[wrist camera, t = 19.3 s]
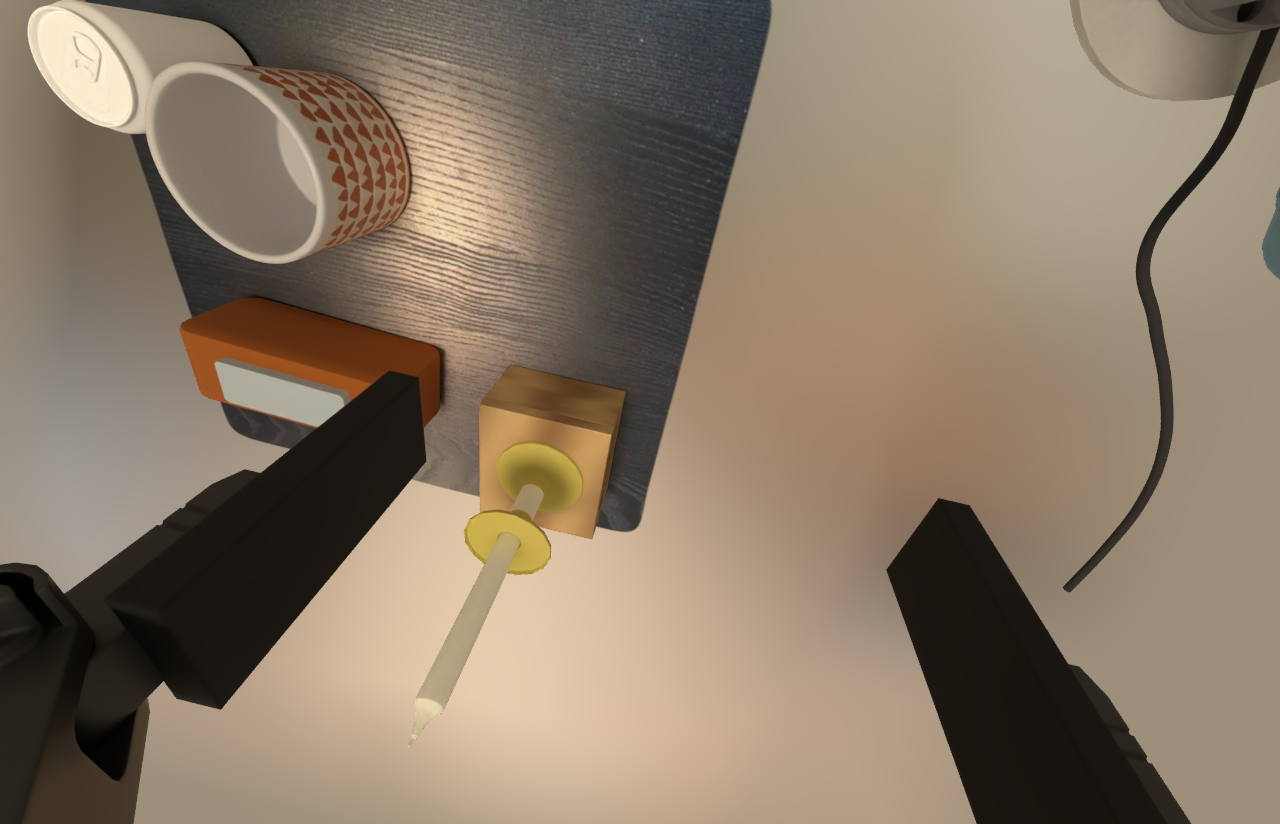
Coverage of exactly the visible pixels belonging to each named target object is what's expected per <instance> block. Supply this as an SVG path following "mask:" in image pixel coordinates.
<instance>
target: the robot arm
mask: <svg viewBox="0 0 1280 824" xmlns="http://www.w3.org/2000/svg"><path fill="white" fill-rule="evenodd" d="M1158 1H1159V3H1160V4H1161V6H1162V7H1163V9H1164V10H1165V11H1166V12H1167V13H1168V15H1169V16H1170V17H1172V18H1173V19H1174V20H1175V21H1176V22H1178V23H1180V24H1181V25H1183V26H1185V27H1187V28H1189V29H1192V30H1194V31H1198V32H1202V33H1208V34H1236V33H1244V32H1251V31H1258V30H1261V31H1260V34H1259V36H1258V39H1257V41H1256V44H1255V46H1254V49H1253V51H1252V54H1251V56H1250V58H1249V61H1248V63H1247V66H1246V68H1245V71H1244V73H1243V76H1242V78H1241V81H1240V83H1239V85H1238V88H1237V90H1236V93H1235V96H1234V98H1233V101H1232V104H1231V107H1230V109H1229V112H1228V115H1227V117H1226V120H1225V122H1224V124H1223V127H1222V129H1221V131H1220V133H1219V135H1218V137H1217V138H1216V140H1215V142H1214V143H1213V145H1212V147H1211V148H1210V150H1209V151H1208V153H1207V154H1206V156H1205V157H1204V159H1203V160H1202V161H1201V163H1200V164H1199V165H1198V166H1197V168H1196V169H1195V170H1194V171H1193V173H1192V174H1191V175H1190V176H1189V177H1188V179H1187V180H1186V181H1185V182H1184V183H1183V184H1182V186H1181V187H1180V188H1179V189H1178V190H1177V191H1176V192H1175V194H1174V195H1173V196H1172V197H1171V198H1170V199H1169V201H1168V202H1167V203H1166V204H1165V206H1164V207H1163V208H1162V209H1161V210H1160V212H1159V213H1158V215H1157V216H1156V217H1155V219H1154V220H1153V222H1152V223H1151V225H1150V227H1149V229H1148V230H1147V232H1146V234H1145V236H1144V239H1143V241H1142V243H1141V246H1140V249H1139V253H1138V257H1137V263H1136V280H1137V285H1138V290H1139V293H1140V297H1141V299H1142V303H1143V306H1144V308H1145V312H1146V316H1147V320H1148V326H1149V333H1150V338H1151V343H1152V348H1153V353H1154V357H1155V363H1156V367H1157V373H1158V381H1159V391H1160V406H1161V431H1160V439H1159V444H1158V449H1157V453H1156V458H1155V461H1154V465H1153V467H1152V470H1151V473H1150V476H1149V478H1148V480H1147V482H1146V484H1145V486H1144V488H1143V490H1142V492H1141V493H1140V495H1139V497H1138V499H1137V501H1136V502H1135V504H1134V505H1133V507H1132V509H1131V510H1130V512H1129V513H1128V514H1127V516H1126V517H1125V519H1124V520H1123V521H1122V522H1121V524H1120V525H1119V526H1118V527H1117V528H1116V530H1115V531H1114V532H1113V533H1112V534H1111V536H1110V537H1109V538H1108V539H1107V540H1106V541H1105V543H1104V544H1103V545H1102V546H1101V547H1100V549H1099V550H1098V551H1097V552H1096V553H1095V554H1094V555H1093V556H1092V557H1091V558H1090V560H1089V561H1088V562H1087V563H1086V564H1085V565H1084V566H1083V567H1082V568H1081V569H1080V570H1079V571H1078V572H1077V573H1076V574H1075V575H1074V576H1073V577H1072V578H1071V579H1070V580H1069V582H1067V583H1066V584H1065V586H1064V587H1063V588H1064V590H1065V591H1067V592H1071V591H1072V590H1073V589H1074V588H1075V587H1076V586H1077V585H1078V584H1079V583H1080V582H1081V581H1082V580H1083V579H1084V578H1085V577H1086V576H1087V575H1088V574H1089V573H1090V572H1091V571H1092V570H1093V568H1095V567H1096V566H1097V565H1098V564H1099V562H1100V561H1101V560H1102V559H1103V558H1104V557H1105V556H1106V555H1107V554H1108V552H1109V551H1110V550H1111V549H1112V548H1113V547H1114V546H1115V545H1116V543H1117V542H1118V541H1119V540H1120V539H1121V537H1122V536H1123V535H1124V534H1125V533H1126V532H1127V531H1128V530H1129V528H1130V527H1131V526H1132V525H1133V523H1134V522H1135V521H1136V519H1137V518H1138V517H1139V515H1140V514H1141V512H1142V511H1143V509H1144V507H1145V506H1146V504H1147V503H1148V501H1149V499H1150V497H1151V496H1152V494H1153V492H1154V490H1155V488H1156V486H1157V484H1158V482H1159V480H1160V478H1161V475H1162V473H1163V469H1164V467H1165V464H1166V461H1167V457H1168V453H1169V449H1170V444H1171V439H1172V433H1173V393H1172V379H1171V371H1170V365H1169V359H1168V355H1167V350H1166V344H1165V339H1164V333H1163V327H1162V320H1161V314H1160V310H1159V306H1158V303H1157V300H1156V297H1155V294H1154V290H1153V287H1152V283H1151V277H1150V262H1151V256H1152V252H1153V249H1154V246H1155V243H1156V241H1157V238H1158V236H1159V234H1160V232H1161V230H1162V229H1163V227H1164V226H1165V224H1166V223H1167V221H1168V220H1169V218H1170V217H1171V216H1172V214H1173V213H1174V212H1175V211H1176V209H1177V208H1178V207H1179V206H1180V205H1181V203H1182V202H1183V201H1184V200H1185V199H1186V198H1187V196H1188V195H1189V194H1190V193H1191V192H1192V191H1193V190H1194V189H1195V188H1196V186H1197V185H1198V184H1199V183H1200V182H1201V181H1202V180H1203V178H1204V177H1205V176H1206V175H1207V173H1208V172H1209V171H1210V170H1211V169H1212V167H1213V166H1214V165H1215V164H1216V162H1217V161H1218V160H1219V158H1220V157H1221V155H1222V154H1223V153H1224V151H1225V149H1226V148H1227V146H1228V144H1229V143H1230V142H1231V140H1232V138H1233V136H1234V135H1235V133H1236V131H1237V129H1238V127H1239V125H1240V123H1241V121H1242V118H1243V116H1244V114H1245V111H1246V108H1247V106H1248V103H1249V101H1250V98H1251V96H1252V93H1253V91H1254V88H1255V86H1256V83H1257V81H1258V79H1259V76H1260V74H1261V72H1262V69H1263V67H1264V65H1265V62H1266V60H1267V57H1268V55H1269V53H1270V50H1271V48H1272V46H1273V43H1274V41H1275V39H1276V36H1277V34H1278V31H1279V29H1280V0H1158ZM1276 198H1277V200H1276V204H1275V205H1276V210H1275V213H1274V215H1273V218H1272V220H1271V223H1270V225H1269V228H1268V230H1267V233H1266V235H1265V237H1264V240H1263V244H1262V249H1263V256H1264V260H1265V262H1266V265H1267V267H1268V269H1269V270H1270V271H1271V272H1272V273H1273V274H1274V275H1275V276H1276V277H1277V278H1279V279H1280V188H1279V190H1278V192H1277V196H1276ZM425 462H426V452H425V441H424V429H423V418H422V407H421V395H420V384H419V377H416V376H412V375H407V374H403V373H399V372H395V371H390V370H389V371H388V372H386V373H385V374H384V375H383V376H381V377H380V378H379V379H378V380H376V381H375V382H374V383H373V384H371V385H370V386H369V387H368V388H366V389H365V390H364V391H363V392H361V393H360V394H359V395H358V396H356V397H355V398H354V399H353V400H351V401H350V402H349V403H348V404H346V405H345V406H344V407H343V408H341V409H340V410H339V411H338V412H336V413H335V414H334V415H333V416H331V417H330V418H329V419H328V420H326V421H325V422H324V423H323V424H321V425H320V426H319V427H318V428H316V429H315V430H314V431H313V432H311V433H310V434H309V435H308V436H306V437H305V438H304V439H303V440H301V441H300V442H299V443H298V444H296V445H295V446H294V447H293V448H291V449H290V450H289V451H288V452H286V453H285V454H284V455H283V456H282V457H280V458H279V459H278V460H276V461H275V462H274V463H273V464H272V465H270V466H269V467H268V468H266V469H265V470H264V471H263V472H262V473H258V472H254V471H249V470H242V471H240V472H238V473H236V474H234V475H231V476H229V477H227V478H225V479H222V480H220V481H218V482H216V483H213V484H212V485H210V486H209V487H208V488H206V489H205V490H204V491H202V492H201V493H200V494H198V495H197V496H196V497H194V498H193V499H192V500H190V501H189V502H187V503H186V506H185V507H184V508H183V509H182V508H179V509H178V510H177V511H175V512H174V513H173V514H172V515H170V516H169V517H167V518H166V519H165V520H163V524H162V525H160V526H159V525H157V526H155V527H154V528H153V529H151V530H150V531H149V532H147V533H146V534H145V535H143V536H142V537H141V538H139V539H138V540H137V541H135V542H134V543H132V544H131V545H130V546H129V547H127V548H126V549H124V550H123V551H122V552H120V553H119V554H118V555H116V556H115V557H114V558H112V559H111V560H110V561H108V562H107V563H106V564H104V565H103V566H102V567H100V568H99V569H98V570H96V571H95V572H94V573H92V574H91V575H89V576H88V577H87V578H85V579H84V580H83V581H81V582H80V583H79V584H77V585H76V586H75V587H73V588H72V589H71V590H69V591H68V592H66V593H65V594H64V593H63V592H62V591H61V590H60V588H59V587H58V586H57V585H56V583H55V582H54V581H53V580H52V578H51V577H50V576H49V575H48V574H47V573H46V572H45V571H44V570H42V569H41V568H39V567H38V566H37V565H30V564H22V563H10V564H2V565H0V824H133V823H134V816H135V809H136V802H137V795H138V788H139V781H140V774H141V768H142V761H143V755H144V748H145V741H146V734H147V727H148V720H149V713H150V710H149V703H148V699H147V697H148V696H149V695H150V694H151V693H152V692H153V691H154V690H155V689H156V688H157V687H158V686H159V685H160V684H161V683H162V682H163V681H164V682H165V683H166V685H167V686H168V688H169V689H170V690H171V691H172V693H173V694H174V696H175V697H176V698H177V699H180V700H184V701H188V702H192V703H196V704H200V705H204V706H208V707H212V708H217V709H222V708H223V706H224V705H225V704H226V703H227V702H228V700H229V699H230V698H231V697H232V696H233V694H234V693H235V692H236V690H237V689H238V688H239V687H240V686H241V685H242V683H243V682H244V681H245V680H246V679H247V677H248V676H249V675H250V674H251V673H252V671H253V670H254V669H255V668H256V666H257V665H258V664H259V663H260V662H261V661H262V659H263V658H264V657H265V656H266V654H267V653H268V652H269V651H270V650H271V648H272V647H273V646H274V645H275V644H276V642H277V641H278V640H279V639H280V637H281V636H282V635H283V634H284V633H285V631H286V630H287V629H288V628H289V627H290V625H291V624H292V623H293V622H294V621H295V619H296V618H297V617H298V616H299V614H300V613H301V612H302V611H303V610H304V608H305V607H306V606H307V605H308V604H309V602H310V601H311V600H312V599H313V598H314V596H315V595H316V594H317V593H318V592H319V590H320V589H321V588H322V587H323V586H324V584H325V583H326V582H327V581H328V579H329V578H330V577H331V576H332V575H333V573H334V572H335V571H336V570H337V569H338V567H339V566H340V565H341V564H342V562H343V561H344V560H345V559H346V558H347V556H348V555H349V554H350V553H351V552H352V550H353V549H354V548H355V547H356V545H357V544H358V543H359V542H360V540H362V538H363V537H364V536H365V535H366V534H367V532H368V531H369V530H370V529H371V527H372V526H373V525H374V524H375V523H376V521H377V520H378V519H379V518H380V516H381V515H382V514H383V513H384V512H385V511H386V509H387V508H388V507H389V506H390V504H391V503H392V502H393V501H394V500H395V498H396V497H397V496H398V495H399V494H400V492H401V491H402V490H403V489H404V487H405V486H406V485H407V484H408V483H409V481H410V480H411V479H412V478H413V477H414V475H415V474H416V473H417V472H418V471H419V469H420V468H421V467H422V466H423V465H424V463H425ZM887 573H888V576H889V579H890V582H891V584H892V587H893V590H894V593H895V596H896V598H897V601H898V604H899V607H900V609H901V612H902V615H903V618H904V621H905V624H906V626H907V629H908V632H909V635H910V638H911V640H912V643H913V646H914V649H915V651H916V655H917V657H918V660H919V663H920V666H921V669H922V671H923V674H924V677H925V680H926V682H927V685H928V688H929V691H930V694H931V697H932V699H933V702H934V705H935V708H936V711H937V713H938V716H939V719H940V722H941V725H942V727H943V730H944V733H945V736H946V739H947V741H948V744H949V747H950V750H951V753H952V756H953V758H954V761H955V764H956V766H957V770H958V772H959V775H960V778H961V781H962V784H963V786H964V789H965V792H966V795H967V798H968V800H969V803H970V806H971V809H972V812H973V814H974V817H975V820H976V823H977V824H1191V823H1190V821H1189V820H1188V818H1187V817H1186V815H1185V814H1184V812H1183V810H1182V809H1181V807H1180V806H1179V804H1178V803H1177V801H1176V800H1175V798H1174V797H1173V795H1172V794H1171V792H1170V791H1169V789H1168V788H1167V786H1166V785H1165V783H1164V781H1163V780H1162V778H1161V777H1160V775H1159V774H1158V772H1157V771H1156V769H1155V768H1154V766H1153V765H1152V764H1150V763H1148V762H1147V760H1146V758H1147V755H1146V754H1145V752H1144V751H1143V750H1142V748H1141V747H1140V745H1139V743H1138V742H1137V741H1136V739H1135V737H1134V736H1131V735H1130V734H1129V728H1128V727H1127V725H1126V723H1125V722H1124V720H1123V719H1122V717H1121V716H1120V714H1119V713H1118V711H1117V710H1116V708H1115V707H1114V705H1113V704H1112V702H1111V700H1110V699H1109V698H1108V696H1107V695H1106V694H1105V693H1104V692H1103V691H1102V690H1101V689H1100V688H1099V687H1098V686H1097V685H1096V684H1095V683H1094V682H1093V680H1092V679H1091V678H1090V677H1089V676H1088V675H1087V674H1086V673H1085V672H1084V671H1083V670H1082V669H1081V668H1080V667H1078V666H1074V665H1070V664H1068V663H1067V662H1066V660H1065V659H1064V657H1063V655H1062V653H1061V652H1060V650H1059V649H1058V647H1057V645H1056V644H1055V642H1054V640H1053V639H1052V638H1051V636H1050V634H1049V632H1048V631H1047V629H1046V628H1045V626H1044V624H1043V623H1042V621H1041V620H1040V618H1039V616H1038V615H1037V613H1036V612H1035V610H1034V609H1033V607H1032V605H1031V604H1030V602H1029V600H1028V599H1027V597H1026V596H1025V594H1024V592H1023V591H1022V589H1021V587H1020V586H1019V584H1018V583H1017V581H1016V579H1015V578H1014V576H1013V575H1012V573H1011V572H1010V570H1009V568H1008V567H1007V565H1006V563H1005V562H1004V560H1003V558H1002V557H1001V555H1000V554H999V552H998V550H997V549H996V547H995V546H994V544H993V542H992V541H991V539H990V538H989V536H988V534H987V533H986V531H985V529H984V528H983V526H982V525H981V523H980V521H979V520H978V518H977V517H976V515H975V513H974V512H973V510H972V509H971V507H970V505H966V504H961V503H957V502H953V501H948V500H944V499H940V498H939V499H938V500H937V501H936V502H935V504H934V505H933V506H932V508H931V509H930V511H929V512H928V514H927V515H926V516H925V517H924V519H923V520H922V522H921V523H920V525H919V526H918V527H917V528H916V530H915V531H914V533H913V534H912V535H911V537H910V538H909V539H908V541H907V542H906V544H905V545H904V546H903V548H902V549H901V550H900V552H899V553H898V555H897V556H896V557H895V559H894V560H893V562H892V563H891V564H890V566H889V567H888V568H887Z"/></svg>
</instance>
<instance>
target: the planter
mask: <svg viewBox="0 0 1280 824" xmlns="http://www.w3.org/2000/svg"><path fill="white" fill-rule="evenodd" d="M144 117H145V130H146V136H147V140H148V144H149V148H150V151H151V154H152V157H153V160H154V162H155V164H156V167H157V169H158V171H159V173H160V175H161V177H162V179H163V181H164V182H165V184H166V186H167V187H168V189H169V191H170V192H171V194H172V195H173V196H174V198H175V199H176V201H177V202H178V203H179V205H180V206H181V207H182V208H183V210H184V211H185V212H186V213H187V214H188V215H189V216H190V218H191V219H192V220H193V221H194V222H195V223H196V224H197V225H198V226H199V227H200V228H201V229H203V230H204V231H205V232H206V233H207V234H208V235H210V236H211V237H212V238H213V239H215V240H216V241H217V242H219V243H220V244H222V245H223V246H225V247H227V248H228V249H230V250H232V251H233V252H235V253H237V254H239V255H242V256H244V257H247V258H249V259H252V260H256V261H259V262H264V263H273V264H281V263H288V262H292V261H296V260H299V259H302V258H304V257H307V256H310V255H312V254H315V253H318V252H321V251H323V250H326V249H329V248H332V247H334V246H337V245H340V244H342V243H345V242H348V241H351V240H353V239H356V238H359V237H362V236H364V235H367V234H370V233H372V232H375V231H378V230H380V229H383V228H385V227H387V226H388V225H390V224H391V223H393V222H394V221H395V220H396V219H397V218H398V216H399V215H400V214H401V212H402V211H403V209H404V207H405V205H406V202H407V199H408V195H409V189H410V170H409V163H408V158H407V155H406V151H405V148H404V145H403V143H402V140H401V138H400V136H399V134H398V132H397V130H396V128H395V126H394V125H393V123H392V121H391V120H390V118H389V117H388V115H387V114H386V113H385V111H384V110H383V109H382V108H381V107H380V105H379V104H378V103H377V102H376V101H375V100H374V99H373V98H372V97H371V96H370V95H368V94H367V93H366V92H365V91H364V90H362V89H361V88H360V87H358V86H357V85H355V84H354V83H352V82H350V81H348V80H346V79H344V78H342V77H340V76H337V75H334V74H330V73H325V72H318V71H307V70H295V69H284V68H272V67H260V66H249V65H237V64H225V63H213V62H202V61H188V62H181V63H177V64H174V65H172V66H170V67H168V68H166V69H165V70H164V71H162V72H161V73H160V74H159V75H158V76H157V77H156V79H155V80H154V82H153V83H152V85H151V87H150V89H149V92H148V95H147V98H146V103H145V115H144Z"/></svg>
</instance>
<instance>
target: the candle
mask: <svg viewBox="0 0 1280 824" xmlns="http://www.w3.org/2000/svg"><path fill="white" fill-rule="evenodd" d="M496 466H497V478H498V480H499V482H500V484H501V486H502V488H503V490H504V491H505V492H506V493H507V494H508V495H509V496H510V497H511V498H513V499H514V500H515V502H514V504H513V506H512V508H511V510H510V512H509V511H504V510H499V509H498V510H490V511H482V512H481V513H479V514H478V515H476V516H474V517H472V518H470V520H469V522H468V524H467V526H466V528H465V529H464V535H465V542H466V544H467V546H468V547H469V549H470V550H471V552H472V554H473V555H474V556H475V557H477V558H478V559H479V560H480V561H482V562H483V563H484V564H485V565H484V567H483V568H482V570H481V572H480V574H479V576H478V578H477V580H476V582H475V584H474V586H473V588H472V590H471V592H470V594H469V596H468V598H467V600H466V601H465V603H464V605H463V607H462V609H461V611H460V613H459V615H458V617H457V619H456V621H455V623H454V625H453V627H452V629H451V631H450V633H449V634H448V636H447V638H446V640H445V642H444V644H443V646H442V648H441V650H440V652H439V654H438V656H437V658H436V660H435V662H434V664H433V666H432V667H431V669H430V672H429V673H428V675H427V677H426V679H425V681H424V683H423V685H422V687H421V689H420V691H419V693H418V695H417V697H416V699H415V701H414V704H415V707H416V716H415V722H414V726H413V730H412V734H411V737H412V740H411V742H410V744H409V745H408V747H410V745H411V744H412V742H413V740H414V738H417V737H418V735H419V734H420V733H421V731H422V730H423V729H424V727H425V726H426V725H427V724H428V723H429V722H430V721H431V720H432V718H434V717H435V716H437V715H439V714H441V713H442V712H443V710H444V709H445V706H446V704H447V702H448V700H449V698H450V696H451V693H452V691H453V689H454V687H455V684H456V682H457V680H458V678H459V676H460V674H461V671H462V669H463V667H464V665H465V663H466V661H467V658H468V656H469V654H470V652H471V650H472V647H473V645H474V643H475V641H476V639H477V637H478V634H479V632H480V630H481V628H482V626H483V623H484V621H485V619H486V617H487V615H488V613H489V610H490V608H491V606H492V604H493V602H494V599H495V597H496V595H497V593H498V591H499V589H500V586H501V584H502V582H503V580H504V578H505V575H506V573H509V574H515V575H522V574H532V573H534V572H537V571H539V570H541V569H543V568H544V567H545V565H546V564H547V562H548V561H549V560H550V558H551V544H550V542H549V540H548V538H547V536H546V535H545V532H544V531H543V530H542V529H541V528H539V527H538V526H537V525H536V524H535V523H534V522H533V519H534V517H535V515H536V512H537V510H538V511H544V512H553V511H562V510H564V509H566V508H568V507H570V506H572V505H574V504H575V503H576V501H577V500H578V498H579V497H580V495H581V494H582V491H583V477H582V475H581V472H580V470H579V468H578V465H577V464H576V463H575V462H574V461H573V460H572V459H571V458H570V457H569V456H568V455H567V454H566V453H565V452H563V451H561V450H559V449H557V448H555V447H553V446H551V445H549V444H544V443H539V442H534V441H528V442H522V443H515V444H513V445H512V446H510V447H509V448H507V449H506V450H504V451H503V452H502V454H501V456H500V458H499V460H498V462H497V464H496Z"/></svg>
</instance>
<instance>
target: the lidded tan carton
mask: <svg viewBox="0 0 1280 824" xmlns="http://www.w3.org/2000/svg"><path fill="white" fill-rule="evenodd" d="M625 394H626V391H622V390H618V389H613V388H609V387H605V386H600V385H596V384H592V383H587V382H583V381H579V380H574V379H570V378H566V377H561V376H557V375H553V374H548V373H544V372H540V371H535V370H531V369H527V368H522V367H518V366H514V365H510V367H509V368H508V369H507V370H506V372H505V373H504V374H503V375H502V376H501V378H500V379H499V380H498V381H497V383H496V384H495V385H494V386H493V388H492V389H491V390H490V391H489V393H488V394H487V395H486V396H485V398H484V399H483V400H482V401H481V403H480V404H479V438H480V513H481V512H482V511H490V510H498V509H499V510H504V511H509V512H510V510H511V508H512V506H513V504H514V502H515V500H514V499H513V498H511V497H510V496H509V495H508V494H507V493H506V492H505V491H504V490H503V488H502V486H501V484H500V482H499V480H498V478H497V466H496V464H497V462H498V460H499V458H500V456H501V454H502V452H503V451H504V450H506V449H507V448H509V447H510V446H512V445H513V444H515V443H522V442H528V441H534V442H539V443H544V444H549V445H551V446H553V447H555V448H557V449H559V450H561V451H563V452H565V453H566V454H567V455H568V456H569V457H570V458H571V459H572V460H573V461H574V462H575V463H576V464H577V465H578V468H579V470H580V472H581V475H582V477H583V491H582V494H581V495H580V497H579V498H578V500H577V501H576V503H575V504H574V505H572V506H570V507H568V508H566V509H564V510H562V511H553V512H544V511H538V510H537V512H536V515H535V517H534V519H533V522H534V523H535V524H536V525H537V526H538V527H542V528H546V529H551V530H555V531H559V532H563V533H567V534H571V535H576V536H580V537H584V538H588V539H592V538H593V535H594V532H595V528H596V525H597V521H598V518H599V515H600V511H601V508H602V505H603V501H604V498H605V494H606V491H607V487H608V481H609V476H610V471H611V466H612V461H613V456H614V450H615V445H616V440H617V435H618V430H619V425H620V419H621V414H622V409H623V404H624V399H625Z"/></svg>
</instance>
